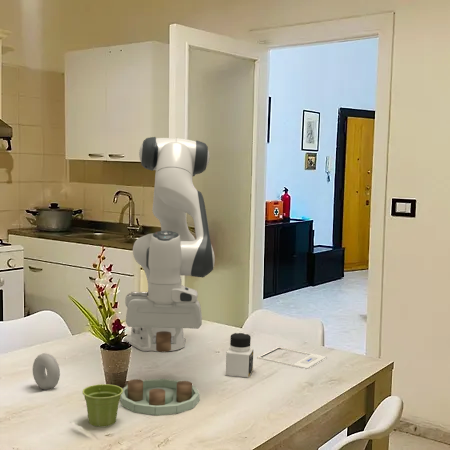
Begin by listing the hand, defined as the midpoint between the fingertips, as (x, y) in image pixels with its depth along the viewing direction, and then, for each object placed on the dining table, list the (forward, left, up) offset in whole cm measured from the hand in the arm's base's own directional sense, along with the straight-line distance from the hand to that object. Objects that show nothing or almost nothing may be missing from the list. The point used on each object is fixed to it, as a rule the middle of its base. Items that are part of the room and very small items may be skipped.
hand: (163, 343), depth 174 cm
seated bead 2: (+9, -9, -13) cm, 18 cm away
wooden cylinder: (0, 0, -2) cm, 2 cm away
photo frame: (+1, +53, -15) cm, 56 cm away
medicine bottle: (0, +29, -15) cm, 33 cm away
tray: (+4, -5, -14) cm, 16 cm away
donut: (-24, -22, -15) cm, 35 cm away
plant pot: (+6, -24, -15) cm, 28 cm away
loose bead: (+9, 0, -13) cm, 16 cm away
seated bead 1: (0, -9, -13) cm, 16 cm away
